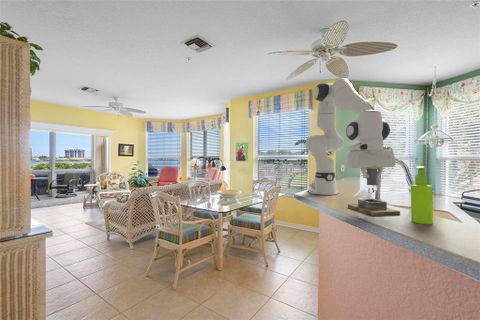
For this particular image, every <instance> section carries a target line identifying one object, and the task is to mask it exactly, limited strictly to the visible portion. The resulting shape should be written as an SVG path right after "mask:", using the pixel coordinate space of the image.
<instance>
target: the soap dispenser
mask: <svg viewBox="0 0 480 320" xmlns="http://www.w3.org/2000/svg"><path fill="white" fill-rule="evenodd" d="M425 168H426V167H425V165H417V166H416V170H417V174H416V175H414V180H415V181H414V183H413V184H411V185H410V209H411V210H410V217H411V219H410V220H411V222H412V223H416V224H421V225H433V224H434V220H433V219H434V212H433V211H434V207H433V206H434V201H433V199H434V198H433V194H434V193H433V185H431V184H429V183H428V180H429V179H428V175H426V174H425Z"/></svg>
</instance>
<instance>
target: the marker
mask: <svg viewBox="0 0 480 320" xmlns="http://www.w3.org/2000/svg"><path fill="white" fill-rule="evenodd" d="M365 171H366V172H367V174H369V178H366V185H367V186H378V185H379V184H378V181H379V180H378V178H377V166H373V167H371V168H367V170H365Z"/></svg>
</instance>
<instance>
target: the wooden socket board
mask: <svg viewBox="0 0 480 320" xmlns="http://www.w3.org/2000/svg"><path fill="white" fill-rule="evenodd" d="M387 203H388V202H387V201H384V200H380V199H377V198H361V199H359V198H358V199H357V203H350V204H349V203H348V204H347V208H348V209H351V210H354V211H356V212H360V213H363V214H365V215H368V216H371V217H384V216H401V211H400V210H397V209H395V208H391V207H388V206H387V205H388V204H387Z"/></svg>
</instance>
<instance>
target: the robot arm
mask: <svg viewBox="0 0 480 320" xmlns="http://www.w3.org/2000/svg"><path fill="white" fill-rule="evenodd" d="M313 95H314V99H315V100H316V101H318V106H317V114H316V126H317V128H318V129H320V130H321V131H322V132H323V134H321V135H320V134H319V135H318V134H317V135H309V136H308V137H307V138H306V139H305V142H304V143H305V148H306V149H307V150H308V151H309V152H310V153H311V155H312V156H313V158H314V159H315V169H316V172H315V174H314V175H315V176H314V179H313V180H312V181H311V182H310V183H309V187H310V188H308V189H307V190H308V191H309V193H310V194H313V195H323V196H324V195H325V196H326V195H327V196H329V195H330V196H331V195H332V196H334V195H337V194H340V192H339V190H338V183H337V180H336V179H335V178H336V172H335V161H334V159H332V157H330V156H328V155H327V152H339V151H341V150H343V148H344V147H345V140H344V138H343V137H342V135H340V134H339V131H338V130H337V127H336V107H338V108H339V109H340V110H342V111H346V112H352V113H357V114H358V117H357V118H356V119H355V120H354V121H351V122H349V124H348V125H347V126H346V130H345V134H346V137H347V138H348V140H349V141H353V142H358V143H355V144H352V145H350V146H348V151H349V152H348V154H347V166H348V167H349V168H350V169H360V172H361V173H362V176H363V177H362V178H363V179H367V178H369V174H367V172H366V170H367V168H371V167H373V166H377V179H380V178H381V176H382V175H381V174H382V173H383V171H384V168H394V167H395V166H396V157H395V153H394V149H393V148H392V147H391V146H387V145H386V146H384V140H386V139H387V138H388V137H389V135H390V133H391V127H390V125H389V123H388V122H387V121H386V120H384V119H383V116H382V113H381V111H380V110H378V109H375V108H374V107H373V105H372V104H371V103H370V102H369V101H368V100H367V99H365V98H364V97H362V96H361V95H360V94H359V93H358V92H357V90H356V89H355V87H354V86H353V84H352V83H351V82H350V80H349V79H347V78H345V77H340V78H337V79H336V80H334V82H328V83H319V84H317V85H316V86H315V88H314V93H313ZM308 191H307V192H308Z"/></svg>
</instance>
